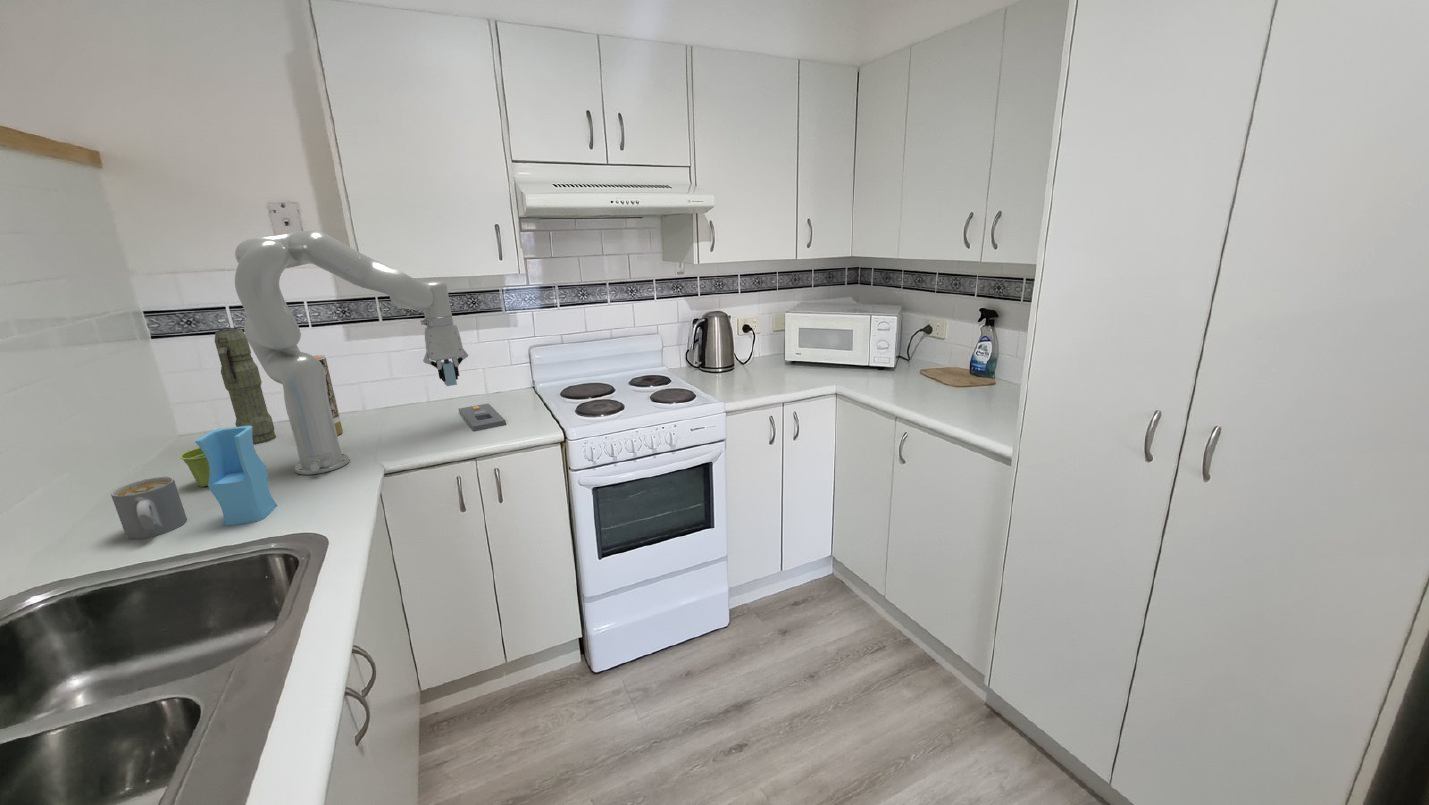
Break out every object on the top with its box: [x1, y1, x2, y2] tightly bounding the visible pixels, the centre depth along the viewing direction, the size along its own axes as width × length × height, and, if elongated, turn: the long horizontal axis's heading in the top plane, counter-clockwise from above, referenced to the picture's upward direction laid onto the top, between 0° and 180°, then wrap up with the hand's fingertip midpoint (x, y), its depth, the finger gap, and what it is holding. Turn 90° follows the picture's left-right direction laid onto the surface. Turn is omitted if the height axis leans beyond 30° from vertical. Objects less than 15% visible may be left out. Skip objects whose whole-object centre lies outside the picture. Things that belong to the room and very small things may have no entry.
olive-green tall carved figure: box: [214, 327, 277, 445], centre depth 177 cm, size 9×12×35 cm
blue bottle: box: [441, 359, 458, 387], centre depth 184 cm, size 4×3×8 cm
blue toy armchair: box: [194, 426, 278, 527], centre depth 129 cm, size 8×8×20 cm
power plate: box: [458, 403, 507, 432], centre depth 195 cm, size 24×10×2 cm, turn 33°
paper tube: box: [313, 354, 343, 436], centre depth 181 cm, size 7×7×25 cm
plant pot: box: [179, 447, 209, 488], centre depth 150 cm, size 9×9×9 cm
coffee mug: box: [110, 476, 188, 540], centre depth 125 cm, size 13×10×10 cm
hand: (449, 379), depth 185 cm, fingers closed on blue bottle, 3 cm apart
